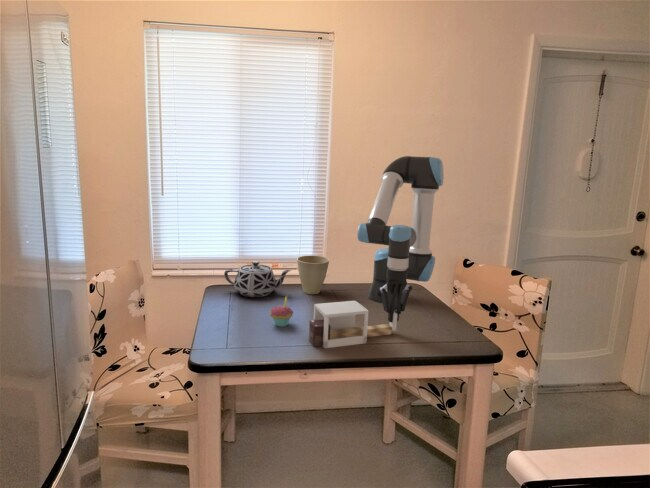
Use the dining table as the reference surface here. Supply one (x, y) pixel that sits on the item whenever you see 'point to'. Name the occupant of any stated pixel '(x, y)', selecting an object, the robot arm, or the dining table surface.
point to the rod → (361, 331)
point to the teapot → (255, 280)
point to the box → (317, 332)
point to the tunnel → (341, 321)
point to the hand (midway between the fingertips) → (392, 329)
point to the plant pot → (312, 272)
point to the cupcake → (281, 314)
